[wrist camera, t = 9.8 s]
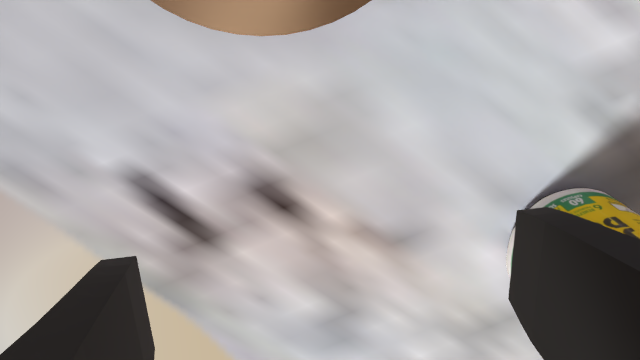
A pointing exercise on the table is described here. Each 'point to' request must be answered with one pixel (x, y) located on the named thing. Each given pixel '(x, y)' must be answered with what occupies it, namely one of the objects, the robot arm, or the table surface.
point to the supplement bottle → (588, 212)
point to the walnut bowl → (261, 14)
